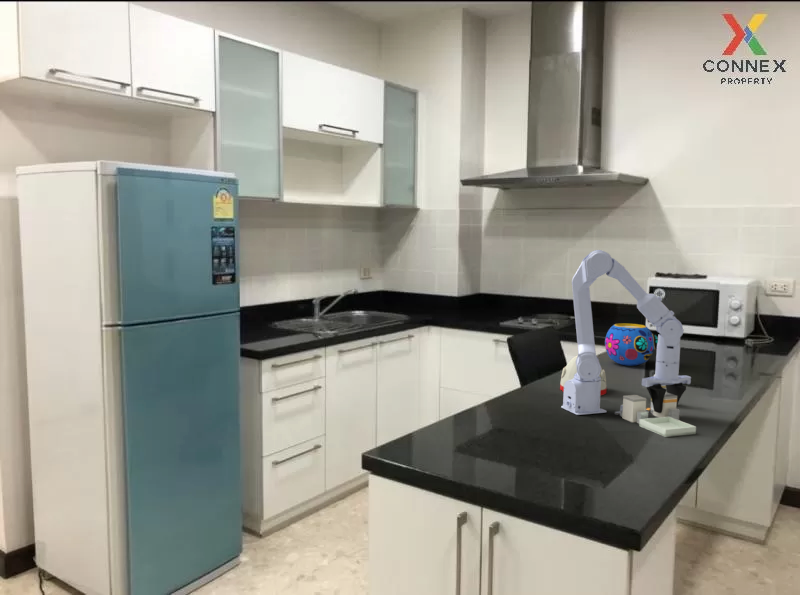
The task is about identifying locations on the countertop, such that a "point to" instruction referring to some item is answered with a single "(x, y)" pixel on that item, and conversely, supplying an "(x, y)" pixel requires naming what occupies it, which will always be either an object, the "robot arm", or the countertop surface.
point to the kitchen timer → (572, 370)
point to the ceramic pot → (630, 344)
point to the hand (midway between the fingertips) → (664, 411)
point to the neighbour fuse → (633, 407)
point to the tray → (667, 426)
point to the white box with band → (667, 405)
